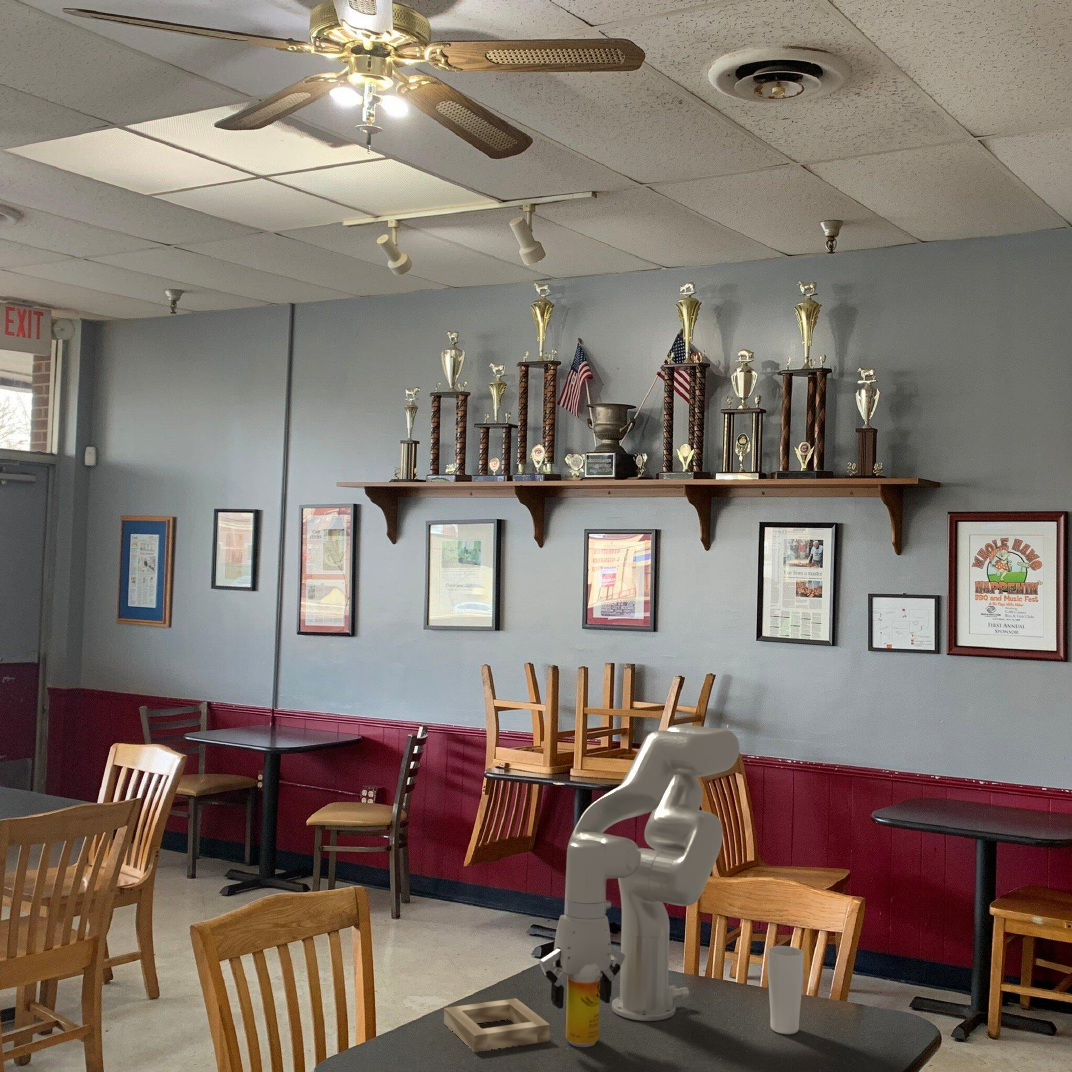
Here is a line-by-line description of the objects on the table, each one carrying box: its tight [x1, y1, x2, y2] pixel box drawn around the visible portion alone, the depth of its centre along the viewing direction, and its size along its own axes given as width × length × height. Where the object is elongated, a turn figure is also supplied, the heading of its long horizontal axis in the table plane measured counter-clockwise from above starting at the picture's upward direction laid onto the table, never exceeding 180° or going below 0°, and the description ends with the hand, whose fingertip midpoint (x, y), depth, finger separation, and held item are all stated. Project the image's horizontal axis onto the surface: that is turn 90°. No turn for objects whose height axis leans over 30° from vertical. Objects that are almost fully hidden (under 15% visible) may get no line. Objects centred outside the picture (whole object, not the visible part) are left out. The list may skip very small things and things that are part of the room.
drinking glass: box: [767, 945, 805, 1035], centre depth 229 cm, size 7×7×15 cm
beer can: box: [565, 963, 601, 1048], centre depth 221 cm, size 6×6×15 cm
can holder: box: [443, 997, 551, 1053], centre depth 224 cm, size 15×15×3 cm
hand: (581, 1003), depth 220 cm, fingers open, 9 cm apart
